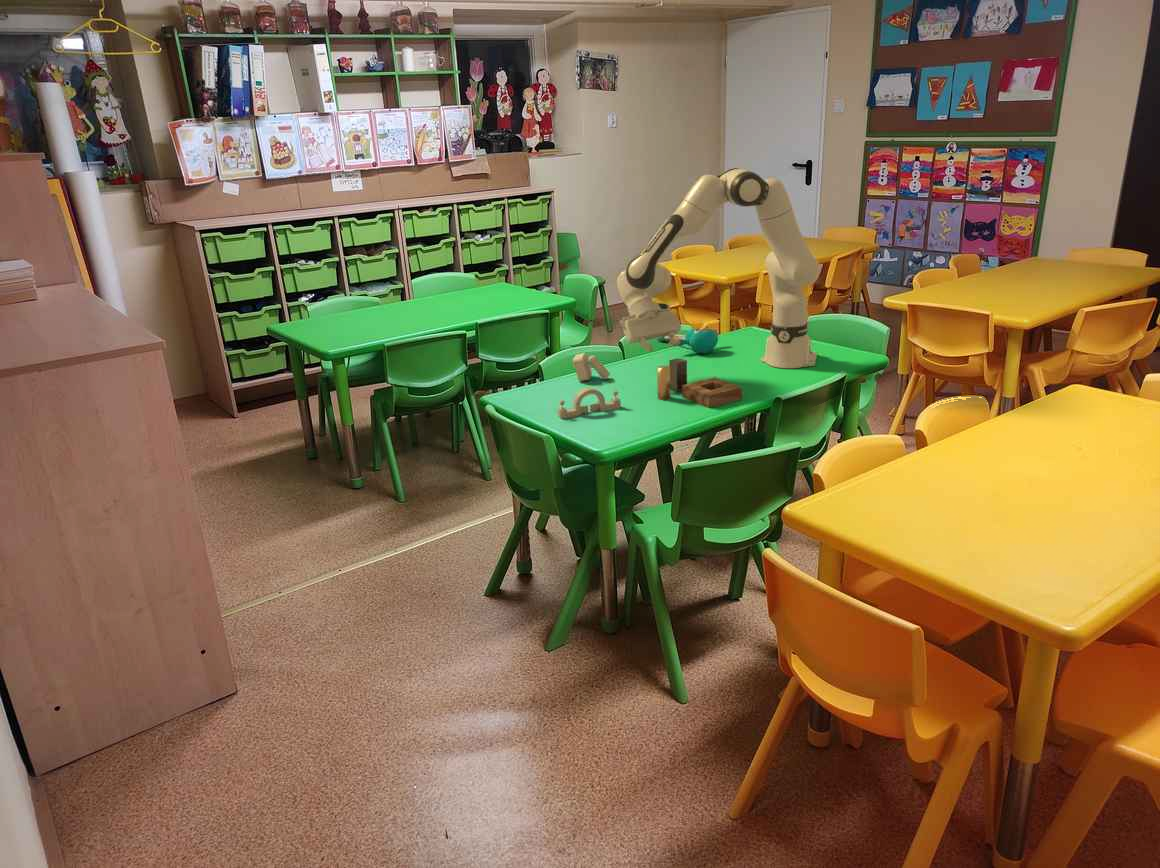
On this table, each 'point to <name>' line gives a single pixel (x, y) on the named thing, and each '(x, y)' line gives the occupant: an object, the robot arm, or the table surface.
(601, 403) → the gateway
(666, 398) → the cylinder
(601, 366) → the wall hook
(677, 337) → the toy
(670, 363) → the steel square bit
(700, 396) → the walnut bore block
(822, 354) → the table surface
